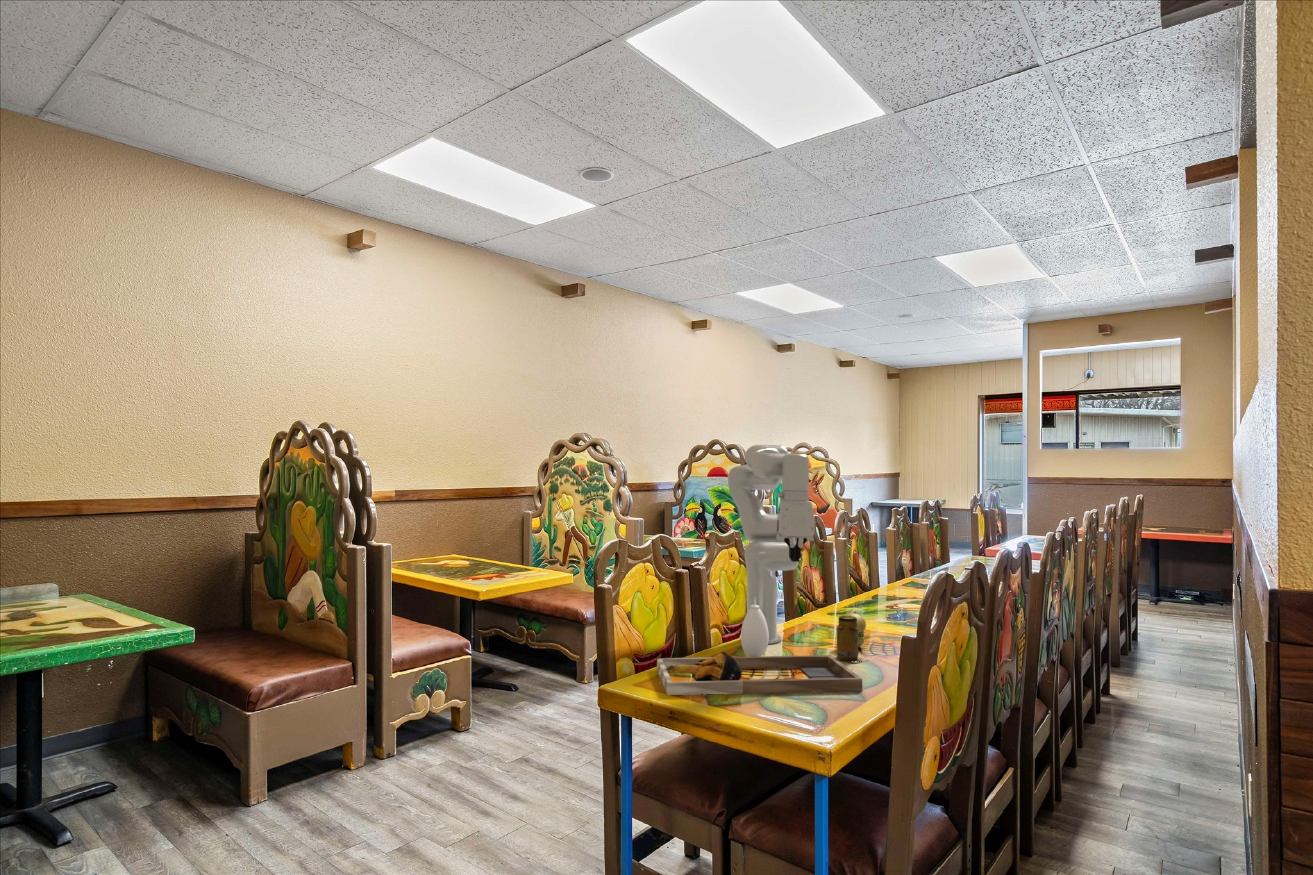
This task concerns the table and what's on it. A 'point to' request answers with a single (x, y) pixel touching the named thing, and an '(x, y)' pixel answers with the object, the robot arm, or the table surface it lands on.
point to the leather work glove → (711, 669)
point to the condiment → (848, 640)
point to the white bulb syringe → (754, 632)
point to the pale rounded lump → (859, 626)
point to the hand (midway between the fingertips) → (794, 561)
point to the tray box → (815, 667)
